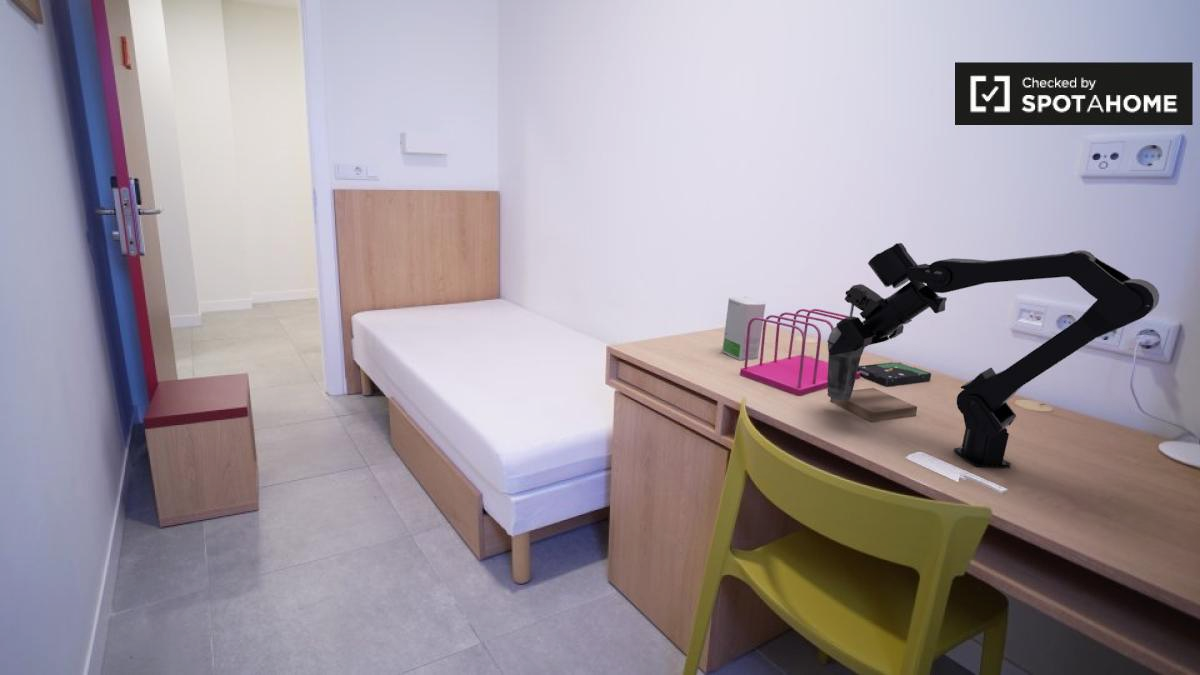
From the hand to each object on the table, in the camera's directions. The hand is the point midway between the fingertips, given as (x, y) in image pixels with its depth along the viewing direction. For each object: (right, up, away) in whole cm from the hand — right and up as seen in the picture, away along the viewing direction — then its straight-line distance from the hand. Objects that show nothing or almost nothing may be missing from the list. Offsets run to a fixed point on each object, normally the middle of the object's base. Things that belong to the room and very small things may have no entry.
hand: (838, 350), depth 125 cm
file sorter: (0, -7, +25) cm, 26 cm away
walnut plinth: (+9, -13, +6) cm, 17 cm away
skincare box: (-11, -3, +41) cm, 43 cm away
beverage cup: (+1, -10, +1) cm, 10 cm away
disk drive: (+24, -8, +27) cm, 37 cm away
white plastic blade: (+10, -21, -23) cm, 32 cm away
